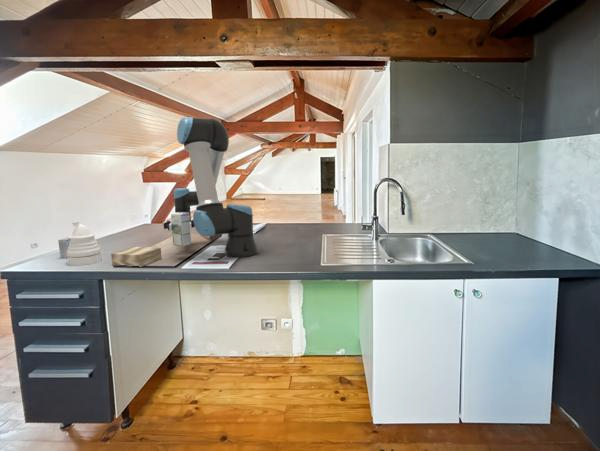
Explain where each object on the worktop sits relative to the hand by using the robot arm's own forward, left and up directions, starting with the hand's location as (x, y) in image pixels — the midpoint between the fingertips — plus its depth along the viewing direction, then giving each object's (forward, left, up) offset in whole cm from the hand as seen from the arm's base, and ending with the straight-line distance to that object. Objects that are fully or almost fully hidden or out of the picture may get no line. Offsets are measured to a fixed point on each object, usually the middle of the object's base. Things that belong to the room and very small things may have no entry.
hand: (180, 227), depth 154 cm
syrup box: (+2, -4, -9) cm, 10 cm away
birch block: (+19, +5, -15) cm, 25 cm away
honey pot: (+43, +9, -15) cm, 47 cm away
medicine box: (+58, +2, -15) cm, 60 cm away
